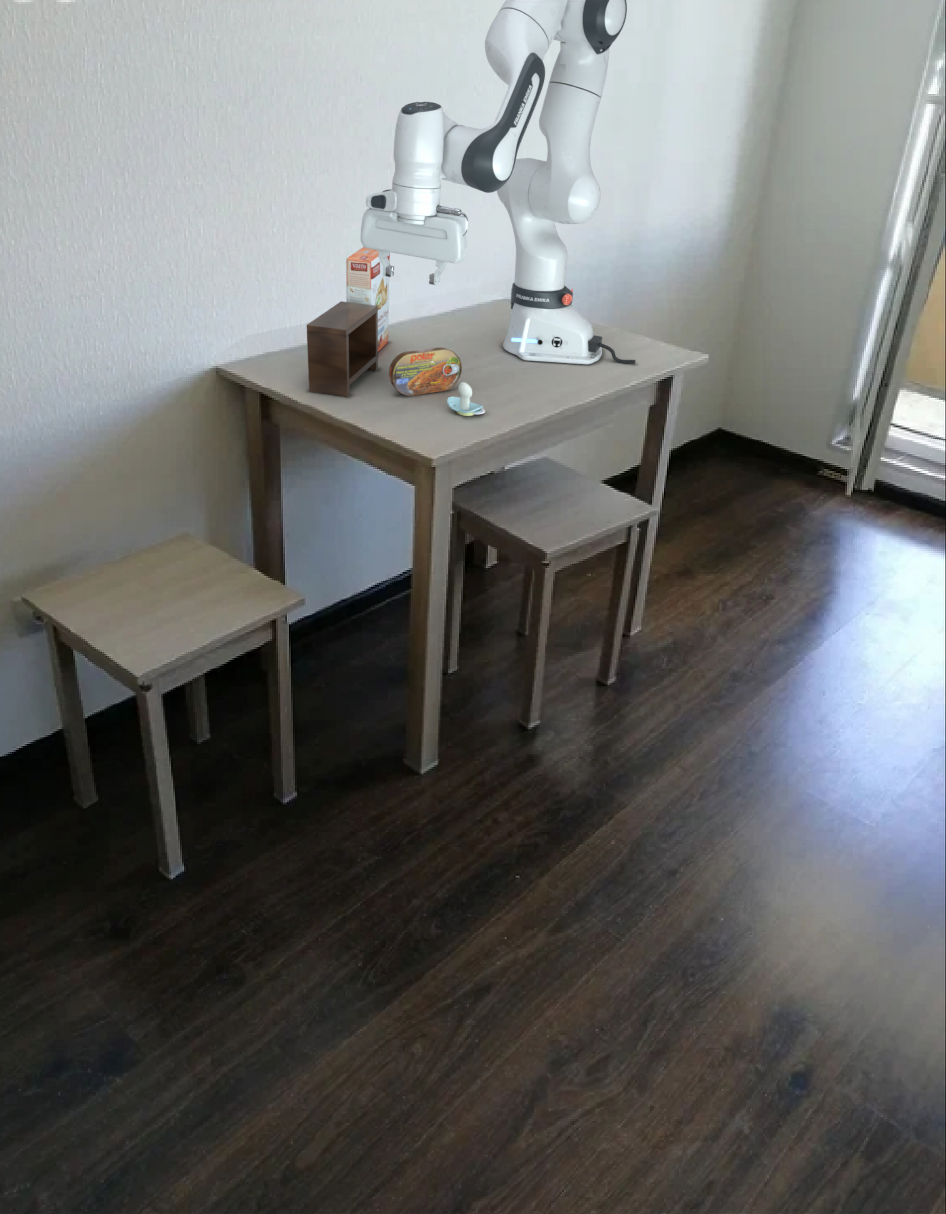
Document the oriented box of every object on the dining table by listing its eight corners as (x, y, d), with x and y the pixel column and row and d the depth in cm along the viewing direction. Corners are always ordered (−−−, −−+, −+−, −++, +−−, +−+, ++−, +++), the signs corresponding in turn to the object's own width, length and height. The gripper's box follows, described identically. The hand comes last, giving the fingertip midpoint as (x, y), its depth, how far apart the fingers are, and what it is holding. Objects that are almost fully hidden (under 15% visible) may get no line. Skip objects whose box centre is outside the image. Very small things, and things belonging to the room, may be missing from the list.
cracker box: (372, 361, 211) (372, 260, 200) (345, 358, 212) (343, 257, 201) (390, 342, 223) (391, 246, 211) (364, 339, 223) (364, 243, 212)
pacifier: (461, 404, 192) (442, 411, 188) (464, 372, 189) (444, 379, 185) (492, 413, 189) (473, 421, 184) (494, 382, 186) (475, 388, 181)
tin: (393, 398, 193) (393, 356, 188) (386, 392, 195) (387, 351, 191) (461, 389, 199) (463, 348, 195) (454, 384, 201) (456, 343, 197)
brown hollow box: (378, 368, 207) (377, 305, 200) (347, 397, 192) (346, 329, 185) (342, 364, 208) (340, 301, 201) (309, 391, 194) (306, 324, 187)
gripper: (475, 208, 179) (468, 286, 186) (373, 192, 184) (370, 268, 191) (462, 212, 174) (456, 292, 181) (358, 195, 179) (355, 274, 186)
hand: (411, 280), depth 186 cm, fingers open, 8 cm apart
